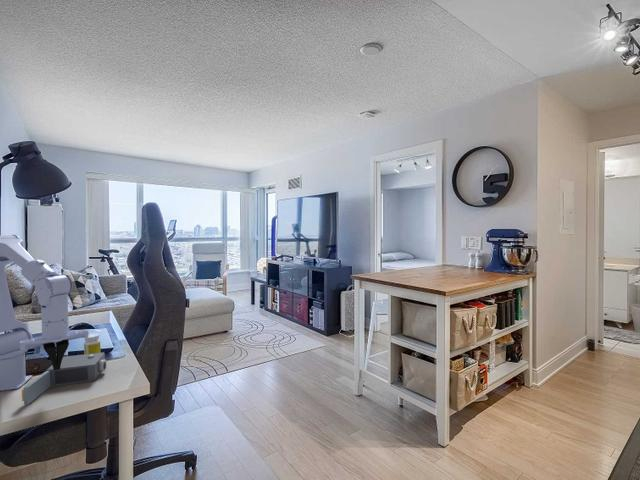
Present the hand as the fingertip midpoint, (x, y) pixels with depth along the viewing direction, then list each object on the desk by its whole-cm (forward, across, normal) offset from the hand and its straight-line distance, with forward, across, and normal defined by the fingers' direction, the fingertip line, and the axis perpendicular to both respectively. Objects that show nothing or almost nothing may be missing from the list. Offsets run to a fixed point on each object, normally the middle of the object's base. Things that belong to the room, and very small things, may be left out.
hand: (56, 368), depth 91 cm
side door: (+7, -4, +4) cm, 9 cm away
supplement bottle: (+8, +12, +23) cm, 27 cm away
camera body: (+8, +6, +10) cm, 14 cm away
